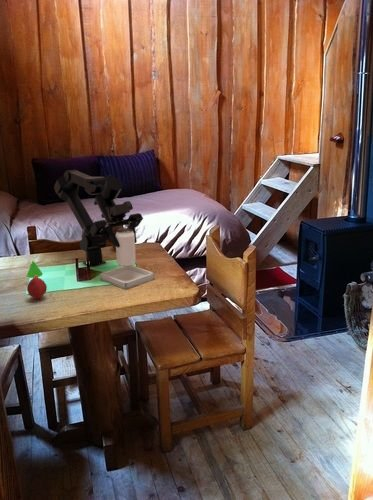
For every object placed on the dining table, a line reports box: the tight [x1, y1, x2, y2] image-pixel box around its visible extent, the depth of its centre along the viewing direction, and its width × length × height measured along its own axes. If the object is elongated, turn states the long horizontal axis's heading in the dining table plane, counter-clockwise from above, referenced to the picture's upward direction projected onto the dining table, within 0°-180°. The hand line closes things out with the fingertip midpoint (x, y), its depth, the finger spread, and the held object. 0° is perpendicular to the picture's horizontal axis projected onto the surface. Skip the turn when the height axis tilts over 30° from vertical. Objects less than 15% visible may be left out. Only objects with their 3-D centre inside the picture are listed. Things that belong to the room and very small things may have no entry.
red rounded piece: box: [26, 275, 48, 300], centre depth 146 cm, size 6×6×8 cm
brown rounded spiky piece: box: [110, 225, 125, 252], centre depth 192 cm, size 7×6×15 cm
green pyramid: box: [26, 260, 44, 279], centre depth 167 cm, size 6×6×6 cm
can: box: [115, 227, 137, 267], centre depth 158 cm, size 6×6×12 cm
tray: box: [100, 265, 156, 291], centre depth 161 cm, size 14×13×2 cm
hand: (127, 244), depth 157 cm, fingers closed on can, 6 cm apart
